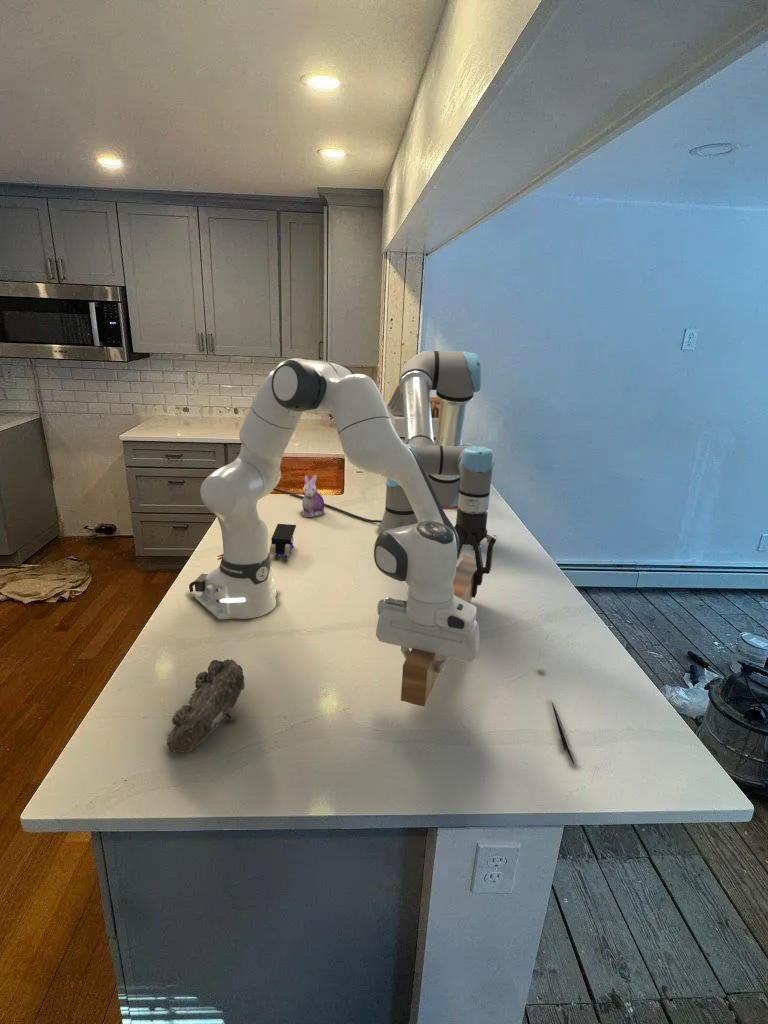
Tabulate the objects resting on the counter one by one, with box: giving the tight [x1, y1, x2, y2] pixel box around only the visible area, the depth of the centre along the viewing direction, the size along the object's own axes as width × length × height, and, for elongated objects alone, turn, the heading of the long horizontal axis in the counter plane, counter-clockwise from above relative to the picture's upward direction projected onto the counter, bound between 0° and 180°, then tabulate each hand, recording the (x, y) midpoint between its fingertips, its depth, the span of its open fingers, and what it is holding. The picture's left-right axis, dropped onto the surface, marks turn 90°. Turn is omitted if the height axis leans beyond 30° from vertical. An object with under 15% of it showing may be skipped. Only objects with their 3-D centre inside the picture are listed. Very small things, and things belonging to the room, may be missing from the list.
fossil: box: [166, 658, 245, 754], centre depth 106 cm, size 22×10×15 cm
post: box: [400, 555, 477, 708], centre depth 130 cm, size 55×5×8 cm, turn 161°
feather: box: [540, 670, 575, 765], centre depth 113 cm, size 2×28×2 cm
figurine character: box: [269, 523, 297, 560], centre depth 179 cm, size 7×8×15 cm
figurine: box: [301, 474, 325, 518], centre depth 213 cm, size 9×10×15 cm
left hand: (424, 667), depth 112 cm, fingers closed on post, 5 cm apart
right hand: (464, 592), depth 149 cm, fingers closed on post, 5 cm apart
